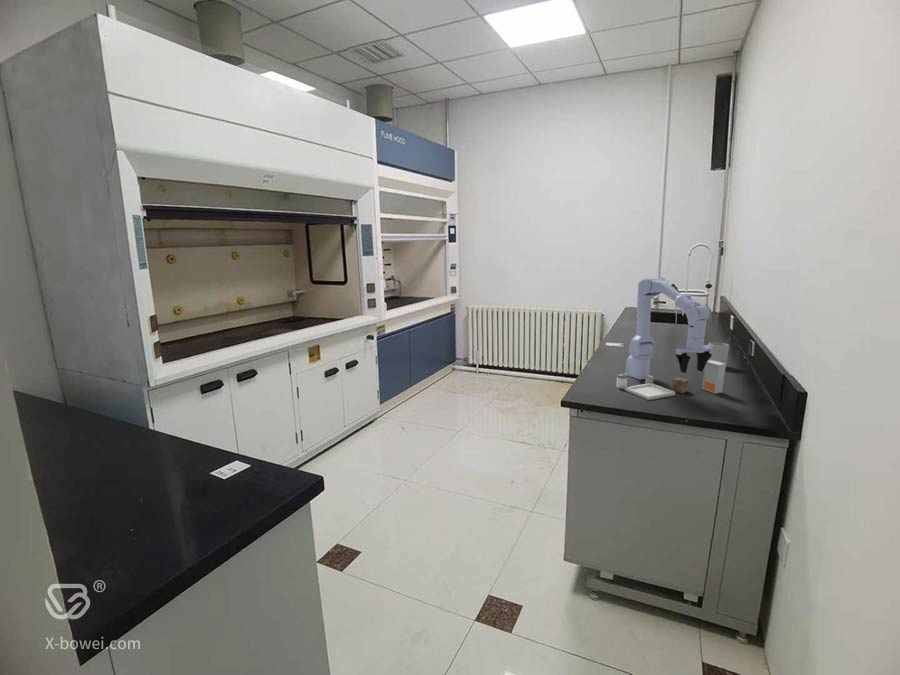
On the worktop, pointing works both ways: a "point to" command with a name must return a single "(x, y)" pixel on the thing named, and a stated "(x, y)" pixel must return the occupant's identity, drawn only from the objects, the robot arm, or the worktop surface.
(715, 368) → the skincare box
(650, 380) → the rubber stopper
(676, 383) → the walnut block
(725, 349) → the mug
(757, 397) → the worktop surface
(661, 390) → the tray
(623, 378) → the sample jar
